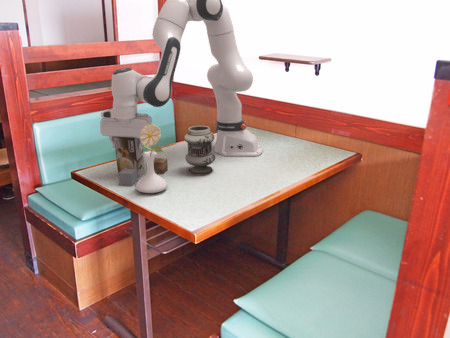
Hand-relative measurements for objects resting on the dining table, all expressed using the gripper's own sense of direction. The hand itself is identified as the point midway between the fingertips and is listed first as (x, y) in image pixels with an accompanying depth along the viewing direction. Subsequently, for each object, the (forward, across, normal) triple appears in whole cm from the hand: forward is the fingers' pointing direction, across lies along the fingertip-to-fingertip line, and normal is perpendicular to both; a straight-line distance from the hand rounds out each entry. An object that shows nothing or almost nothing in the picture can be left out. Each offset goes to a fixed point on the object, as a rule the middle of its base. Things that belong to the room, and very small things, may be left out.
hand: (127, 148), depth 161 cm
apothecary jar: (+11, -26, -10) cm, 30 cm away
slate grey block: (+11, -3, +8) cm, 14 cm away
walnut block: (+11, -10, -6) cm, 16 cm away
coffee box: (+11, 0, -1) cm, 11 cm away
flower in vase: (+11, -15, +13) cm, 23 cm away
